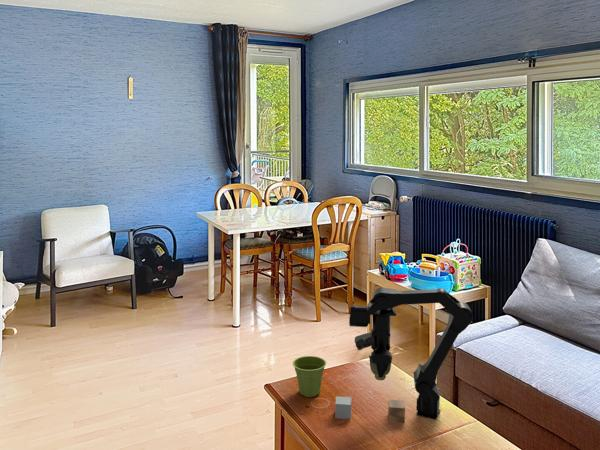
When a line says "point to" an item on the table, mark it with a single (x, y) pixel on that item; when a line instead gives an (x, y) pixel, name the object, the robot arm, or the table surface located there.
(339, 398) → the slate grey block
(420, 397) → the robot arm
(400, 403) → the walnut block
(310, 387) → the plant pot
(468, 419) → the table surface
